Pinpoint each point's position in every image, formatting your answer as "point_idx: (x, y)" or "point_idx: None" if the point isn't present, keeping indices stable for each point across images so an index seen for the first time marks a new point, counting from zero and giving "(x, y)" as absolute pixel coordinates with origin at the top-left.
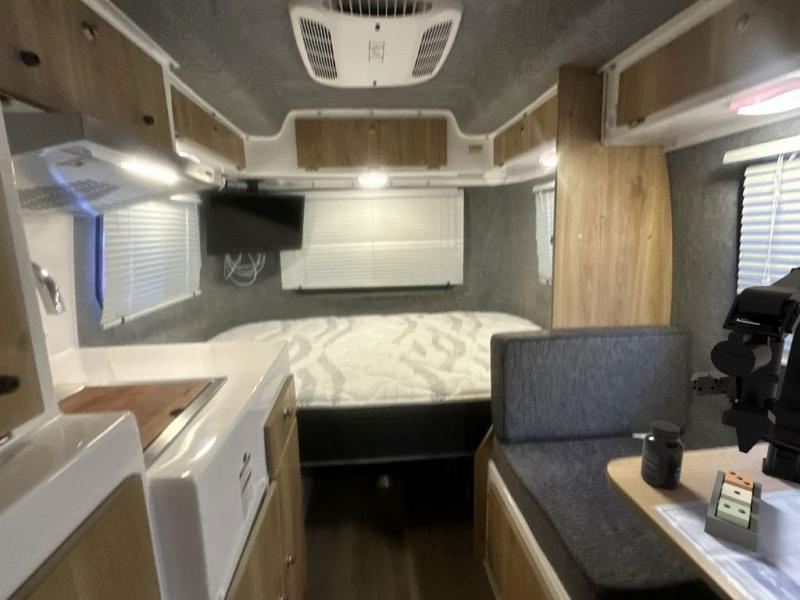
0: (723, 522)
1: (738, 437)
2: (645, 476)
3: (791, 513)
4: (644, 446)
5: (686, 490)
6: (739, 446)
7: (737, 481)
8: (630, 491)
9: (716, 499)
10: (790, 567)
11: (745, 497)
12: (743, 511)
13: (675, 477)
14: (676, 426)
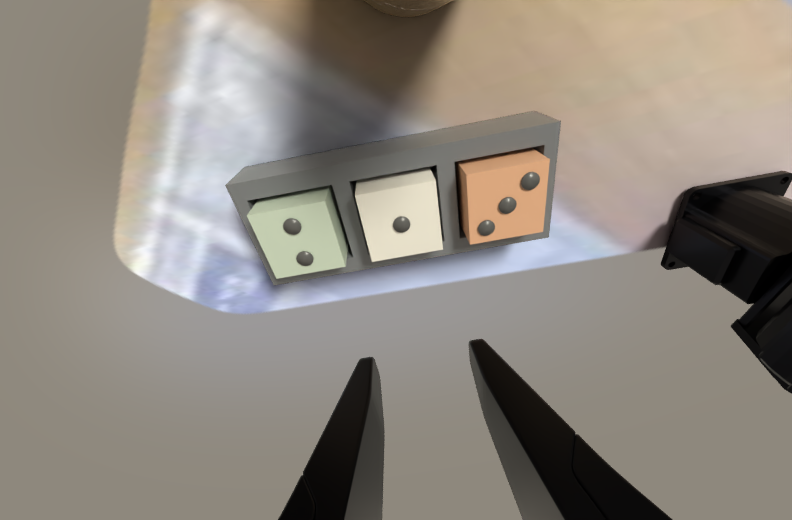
0: (245, 224)
1: (313, 460)
2: None
3: (505, 270)
4: None
5: (414, 49)
6: (345, 390)
7: (478, 207)
8: None
9: (347, 177)
10: (300, 303)
11: (393, 246)
12: (307, 262)
13: (377, 4)
14: None
